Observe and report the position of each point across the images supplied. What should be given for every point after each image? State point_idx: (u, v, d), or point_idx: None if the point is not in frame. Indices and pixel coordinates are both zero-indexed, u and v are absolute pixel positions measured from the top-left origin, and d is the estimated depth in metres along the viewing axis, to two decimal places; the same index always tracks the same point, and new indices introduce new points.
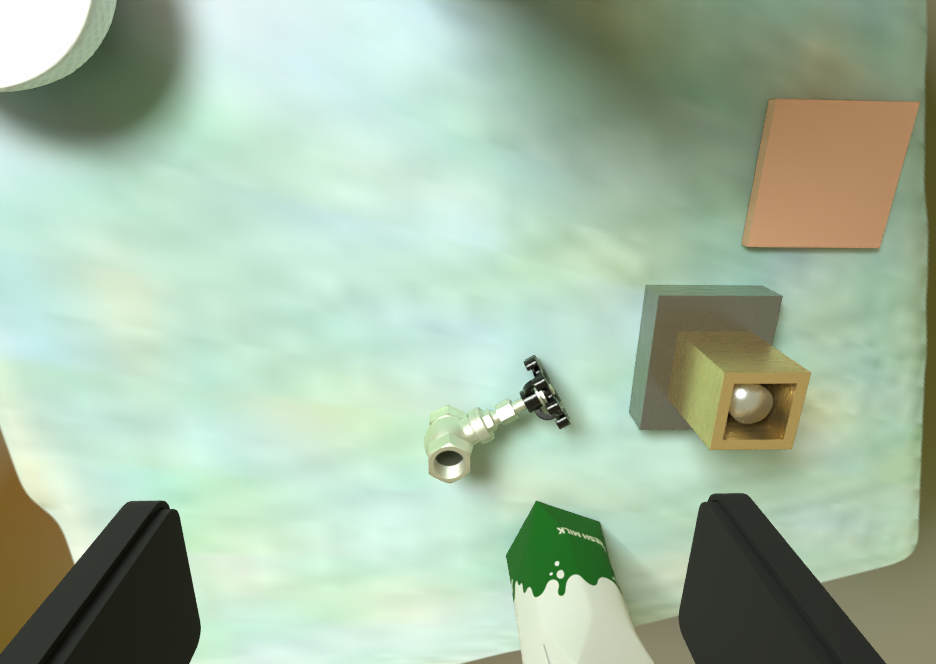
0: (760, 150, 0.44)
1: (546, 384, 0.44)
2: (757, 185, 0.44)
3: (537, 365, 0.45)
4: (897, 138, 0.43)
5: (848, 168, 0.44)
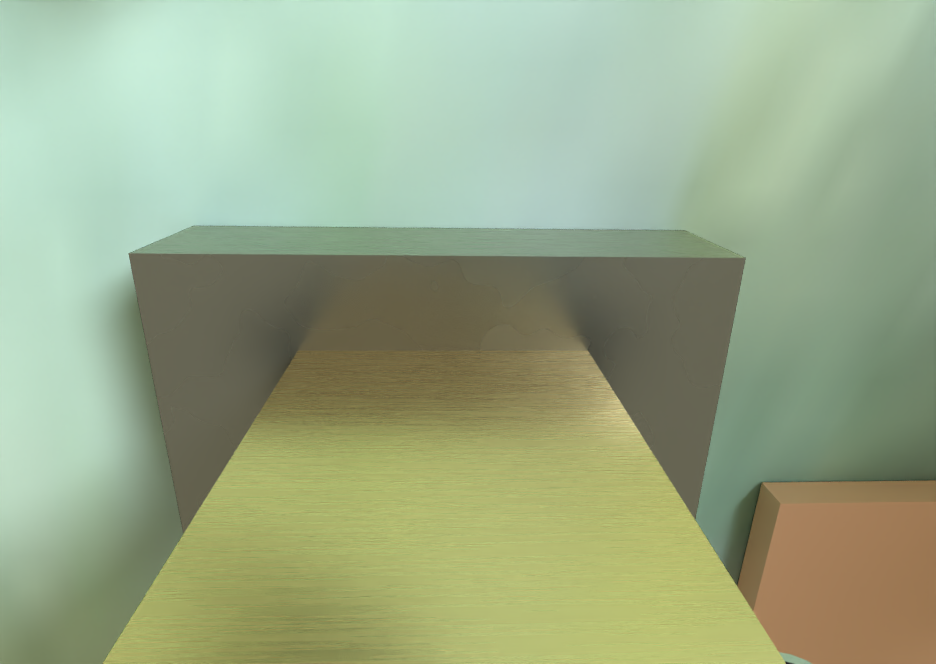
0: None
1: None
2: (934, 495, 0.16)
3: None
4: None
5: None
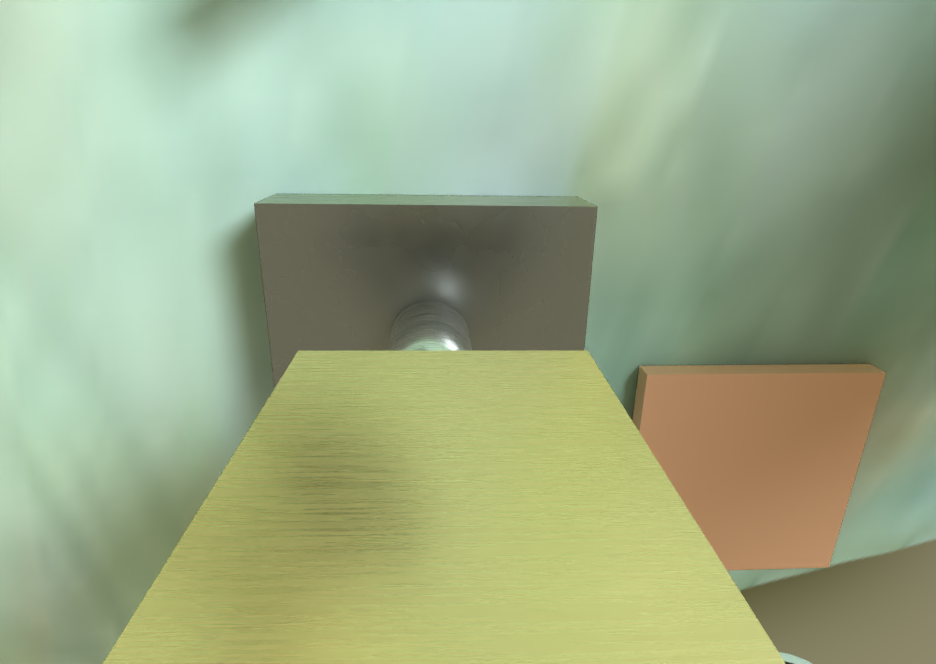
0: (796, 365, 0.26)
1: None
2: (748, 371, 0.25)
3: None
4: (784, 553, 0.29)
5: (753, 500, 0.27)
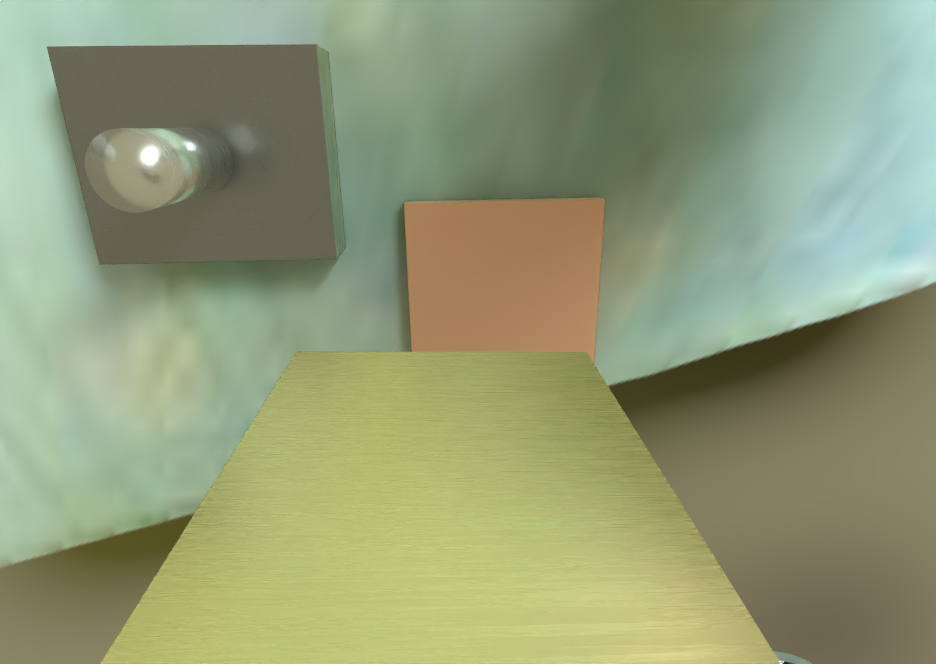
0: None
1: None
2: (491, 201, 0.31)
3: None
4: None
5: (515, 318, 0.33)
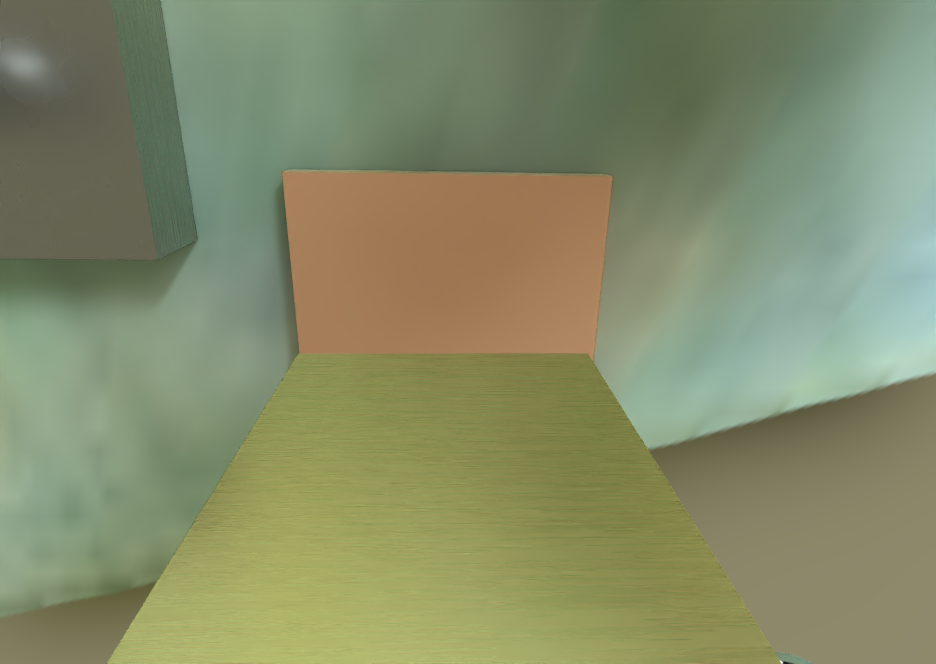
0: (501, 172, 0.20)
1: None
2: (427, 173, 0.19)
3: None
4: None
5: None
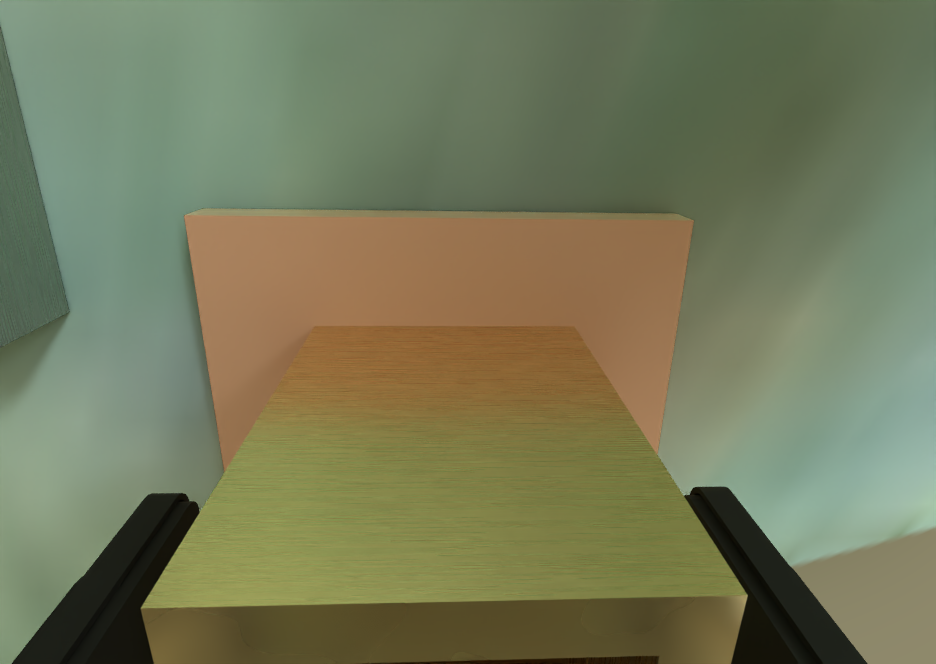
0: (522, 212, 0.13)
1: None
2: (411, 215, 0.12)
3: None
4: None
5: None
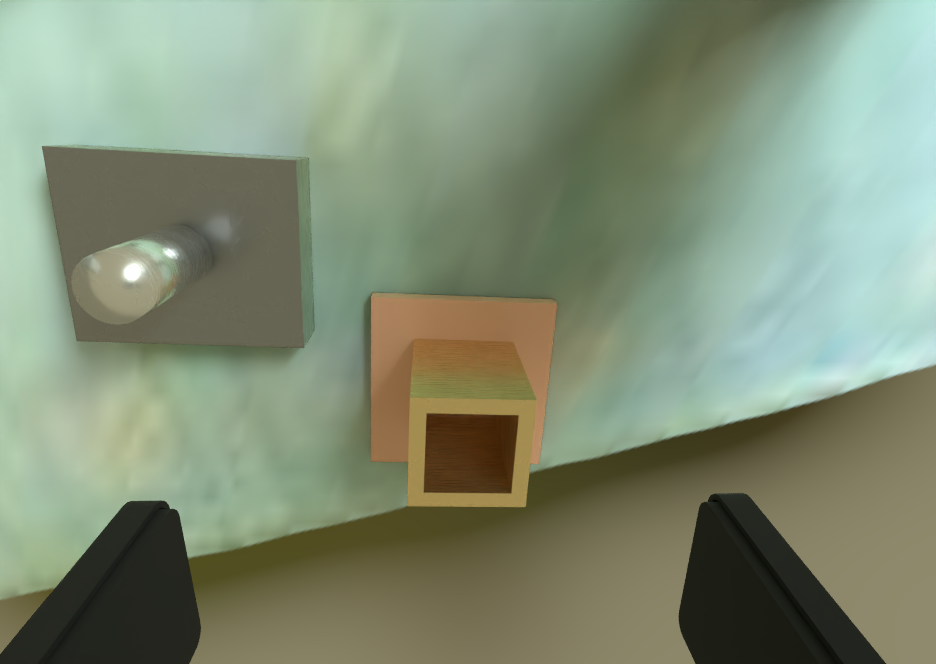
0: (494, 297, 0.34)
1: None
2: (452, 298, 0.33)
3: None
4: None
5: None
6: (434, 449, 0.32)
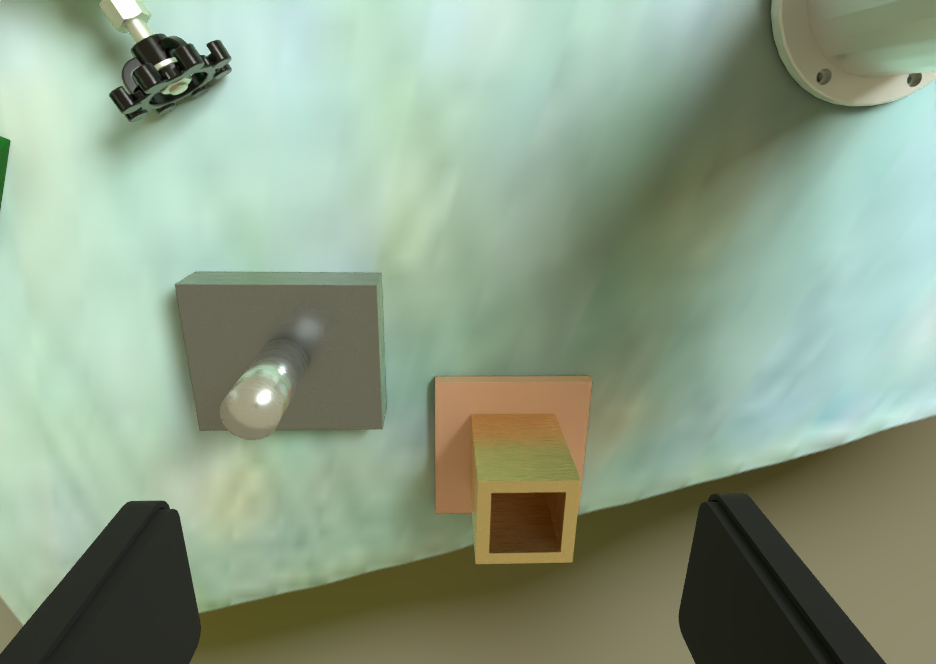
0: (538, 376, 0.40)
1: (187, 66, 0.27)
2: (503, 380, 0.40)
3: (217, 61, 0.29)
4: None
5: None
6: (492, 510, 0.38)
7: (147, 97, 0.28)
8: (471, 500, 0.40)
